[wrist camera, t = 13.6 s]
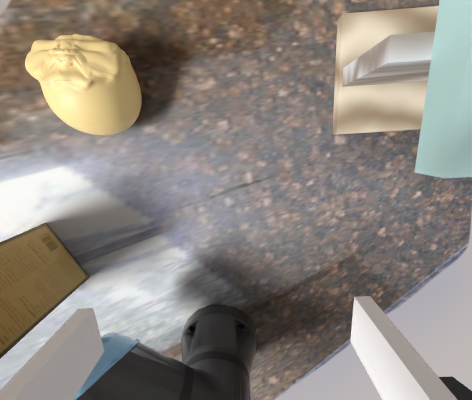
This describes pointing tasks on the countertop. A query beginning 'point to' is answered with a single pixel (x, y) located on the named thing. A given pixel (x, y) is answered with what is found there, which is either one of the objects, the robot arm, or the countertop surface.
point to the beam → (448, 96)
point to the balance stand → (382, 69)
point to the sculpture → (87, 82)
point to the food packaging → (33, 281)
